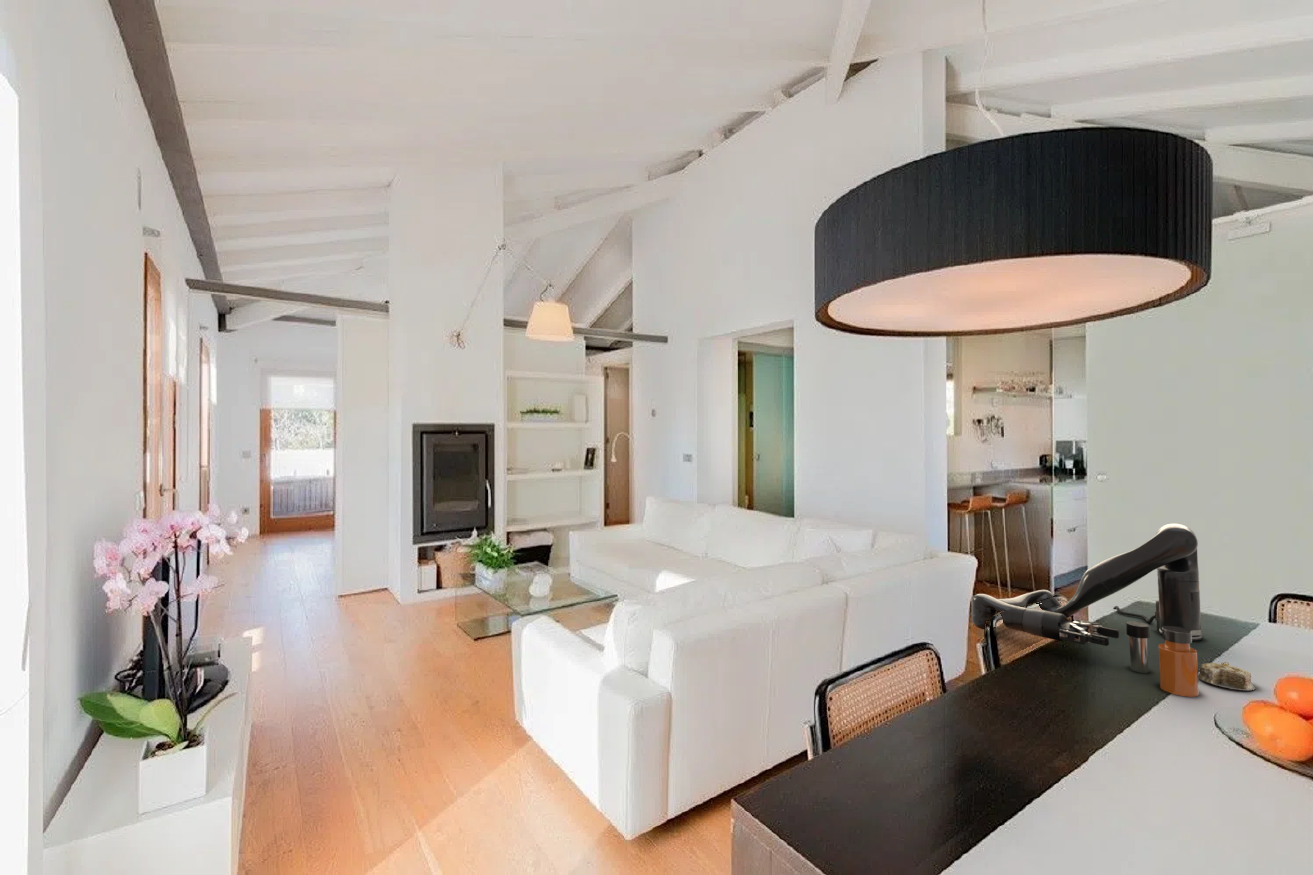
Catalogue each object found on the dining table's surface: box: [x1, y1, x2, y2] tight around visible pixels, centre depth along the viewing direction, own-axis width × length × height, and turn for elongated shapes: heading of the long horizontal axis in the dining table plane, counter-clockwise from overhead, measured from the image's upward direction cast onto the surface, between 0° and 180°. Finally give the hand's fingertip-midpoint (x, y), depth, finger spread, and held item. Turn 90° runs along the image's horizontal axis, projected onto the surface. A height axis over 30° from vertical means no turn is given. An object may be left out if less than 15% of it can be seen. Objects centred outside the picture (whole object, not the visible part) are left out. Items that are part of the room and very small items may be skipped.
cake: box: [1198, 661, 1256, 691], centre depth 140 cm, size 10×10×5 cm
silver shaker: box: [1125, 620, 1151, 674], centre depth 149 cm, size 5×5×12 cm
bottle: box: [1157, 626, 1200, 698], centre depth 137 cm, size 7×7×14 cm
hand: (1113, 638), depth 153 cm, fingers open, 8 cm apart
